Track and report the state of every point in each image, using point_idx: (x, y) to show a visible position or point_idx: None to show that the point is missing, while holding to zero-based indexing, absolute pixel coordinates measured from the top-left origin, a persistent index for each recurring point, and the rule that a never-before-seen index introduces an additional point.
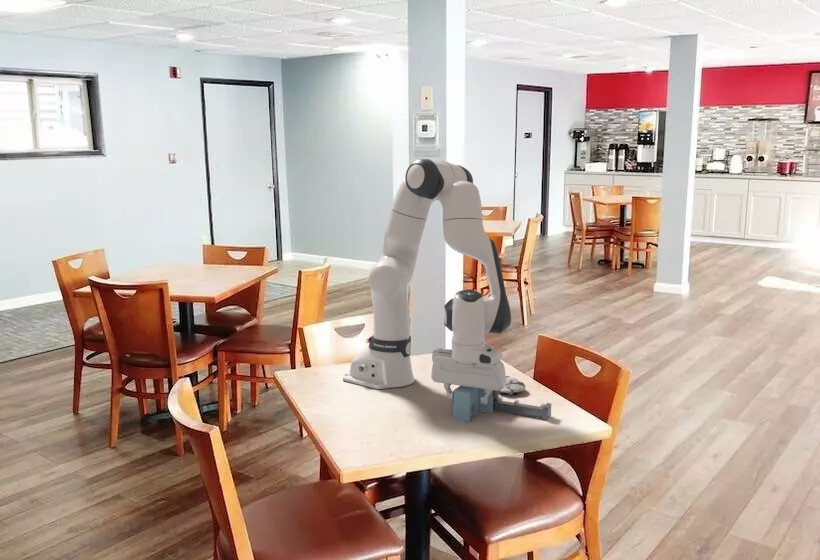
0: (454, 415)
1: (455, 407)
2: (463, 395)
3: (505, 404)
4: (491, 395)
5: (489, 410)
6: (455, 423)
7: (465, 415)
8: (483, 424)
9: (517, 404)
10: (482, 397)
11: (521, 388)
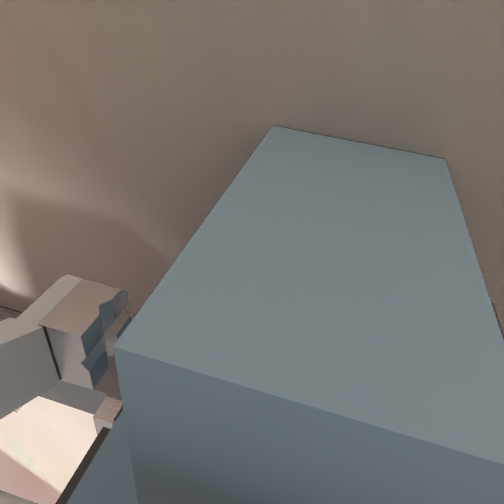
0: (437, 177)
1: (436, 221)
2: (278, 331)
3: None
4: (106, 437)
5: None
6: (414, 45)
7: (299, 155)
8: (139, 106)
9: None
10: (75, 357)
11: None
